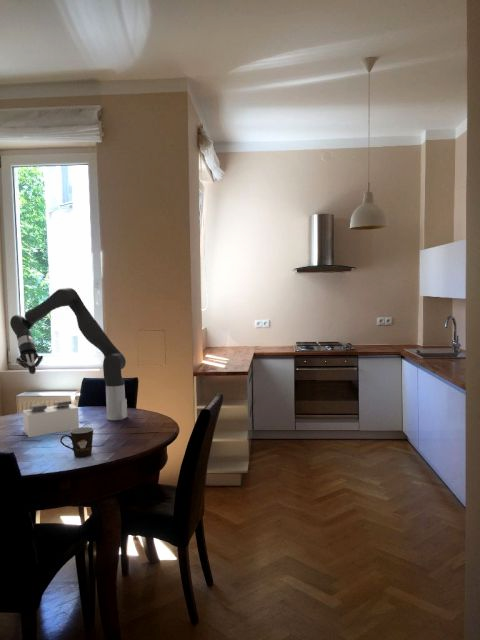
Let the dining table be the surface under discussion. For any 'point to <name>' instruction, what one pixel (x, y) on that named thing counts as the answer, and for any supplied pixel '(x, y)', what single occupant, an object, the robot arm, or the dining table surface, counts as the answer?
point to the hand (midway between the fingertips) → (33, 372)
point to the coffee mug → (81, 441)
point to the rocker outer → (38, 407)
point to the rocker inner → (62, 403)
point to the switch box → (50, 420)
